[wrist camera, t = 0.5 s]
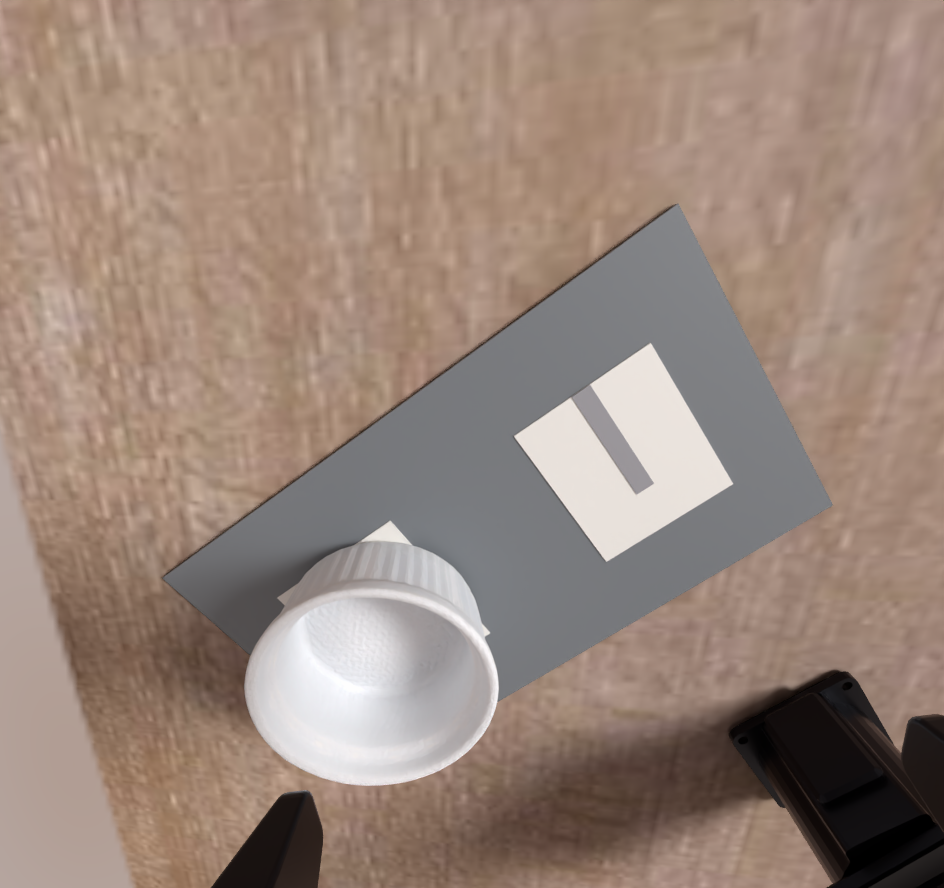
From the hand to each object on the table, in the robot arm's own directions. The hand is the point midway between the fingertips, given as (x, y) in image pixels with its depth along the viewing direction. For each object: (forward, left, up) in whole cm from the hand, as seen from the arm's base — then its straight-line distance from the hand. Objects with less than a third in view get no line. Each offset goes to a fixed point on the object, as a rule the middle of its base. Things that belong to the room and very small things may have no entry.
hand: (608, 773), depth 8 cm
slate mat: (-3, +2, -13) cm, 14 cm away
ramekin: (-3, +8, -13) cm, 16 cm away
